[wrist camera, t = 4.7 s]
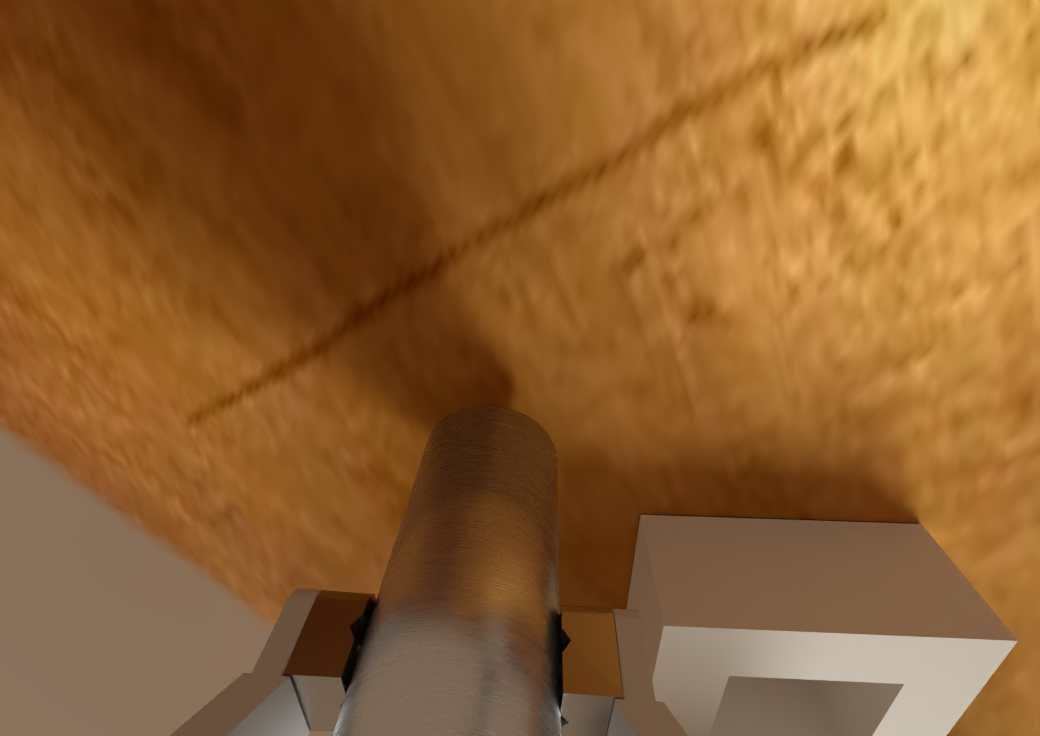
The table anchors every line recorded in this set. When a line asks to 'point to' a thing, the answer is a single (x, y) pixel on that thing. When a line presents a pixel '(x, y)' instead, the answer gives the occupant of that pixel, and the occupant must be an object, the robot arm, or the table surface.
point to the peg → (468, 592)
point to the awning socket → (809, 627)
